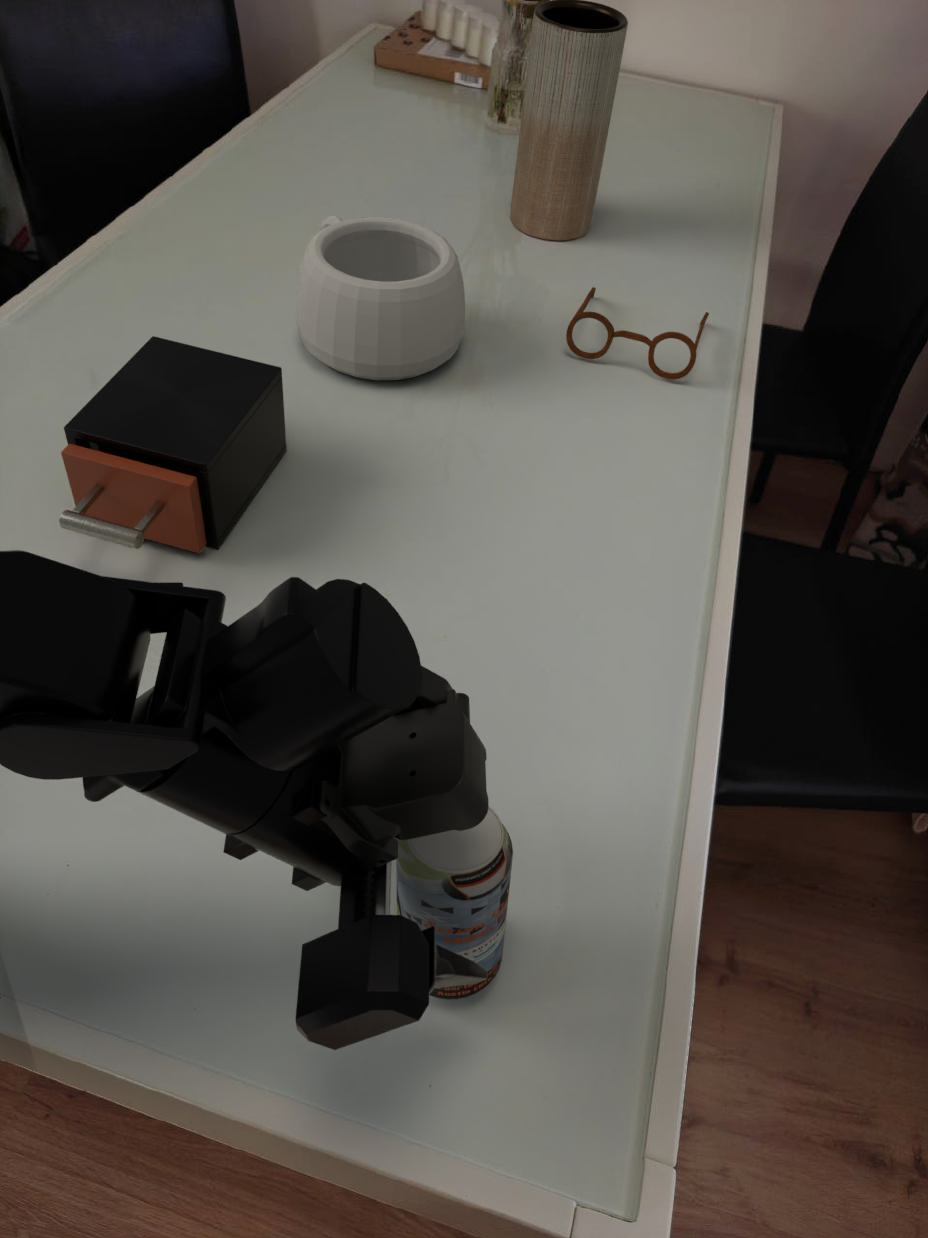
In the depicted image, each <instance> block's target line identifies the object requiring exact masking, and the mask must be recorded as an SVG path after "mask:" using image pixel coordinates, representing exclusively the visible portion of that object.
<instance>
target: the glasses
mask: <svg viewBox="0 0 928 1238" xmlns="http://www.w3.org/2000/svg"><path fill="white" fill-rule="evenodd" d="M595 294H596V287H595V286H592V287H591V288H590V290H589V292H588V293H587V295H586V297H585V299H584V301H583V302H582V303H581V305H580V307H579V308H578V309H577V311H576V313H574V316H573V317H572V318H571V320H570V322H569V323H568V325H567V329H566V334H565V337H566V339H565V340H566V343H567V346H568V349H569V350H570V351H571V352H572V353H573V354H574V355H576V356H578V357H579V358H581V359H585V360H597V359H600V358H602V357H603V356H605V355H606V354H607V352H608V351H609V350H610V347H611V345H612V344H613V340H614V338H623V339H628V340H631V341H636V342H641V343H644V344H645V345H647V346H648V355H647V361H648V366H649V369H650V370H651V372H653V374H655V375H656V376H658V377H660V378H662V379H665V380H672V381H674V380H680V379H683V378H684V377H686V376H687V375H689V374H690V373H691V371H692V370H693V368H694V366H695V363H696V361H697V350H698V347H699V343H700V340H701V337H702V334H703V330H704V328H705V325H706V322H707V320H708V318H709V315H710V312H707V311H706V312H705V313H704V315H703V317H702V318H701V320H700V322H699V325H700V326H699V329H698V331H697V335H696V338H695V341H693V340H692V338H690V336H688V335H686V334H684V333H681V332H677V331H666V332H662V333H660V334H658V335H656V336H654V337H653V338H652V340H651V339H650V338H649V337H648V336H646V335H644V334H641V333H638V332H637V333H636V332H632V331H629V330H624V329H623V330H622V329H621V330H617V331H616V330H615V328H614V326H613V323H611V321H610V320H609V319H608V318H607V317H606V316H605V315H603V314H601V313H599V312H596V311H585V310H586V308H587V307H588V305H589V303H590V301H591V299H594V296H595ZM584 319H593V320H596V321H598V322H600V323H601V324H602V325H603V326H604V328H605V329H606V333H607V339H606V342H605V344H604V346H603V347H602V348H601V349H599V350H598V351H596V352H587V351H584V350H582V349H580V348H578V346H577V345H576V344H575V343H574V339H573V332H574V328H575V326H576V324H577V323H578V322H580V321H581V320H584ZM668 339H674V340H675V339H676V340H679V341H681V342H683V343H684V344H685V345H686V346H687V347H688V350H689V353H690V356H689V360H688V364H687V366H686V367H684V369H682V370H680V371H678V372H667V371H664V370H662V369H661V368H660V367H659V366H658V365H657V364H656V362H655V350H656V347H657V345H658V344H659V343H661V342H662V341H664V340H668Z"/></svg>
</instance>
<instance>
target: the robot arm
mask: <svg viewBox="0 0 928 1238" xmlns="http://www.w3.org/2000/svg"><path fill="white" fill-rule="evenodd" d="M226 601H227V597H226V595H225V593H223V592H222V591H220V590H215V589H208V588H201V587H200V588H199V587H192V586H184V583H183V582H179V581H178V582H177V581H176V582H175V581H174V582H166V581H165V582H159V581H158V582H153V581H145V580H144V581H143V580H136V579H128V578H120V577H113V576H104V575H100V574H96V573H94V572H90V571H87V570H85V569H81V568H78V567H75V566H72V565H69V564H66V563H63V562H60V561H57V560H54V559H51V558H48V557H44V556H42V555H38V554H36V553H33V552H29V551H26V550H19V549H18V550H17V549H16V550H15V549H14V550H13V549H12V550H0V766H1V767H3V768H5V769H6V770H7V769H8V770H9V771H11V772H13V773H15V774H18V775H21V776H24V777H26V778H31V779H38V780H43V781H44V780H45V781H46V780H47V781H49V780H52V781H53V780H58V781H60V780H69V779H70V780H71V779H79V778H80V779H82V786H83V792H84V793H83V795H84V798H85V799H86V800H87V801H88V802H91V803H96V802H101V801H102V800H104V799H105V798H108V797H109V796H110V795H112V794H113V793H115V792H116V791H118V790H120V789H121V788H123V787H127V788H129V789H130V790H133V791H135V792H136V793H139V794H141V795H143V796H145V797H147V798H149V799H151V800H153V801H156V802H158V803H159V804H162V805H164V806H166V807H168V808H169V809H172V810H173V811H175V812H178V813H181V814H182V815H185V816H186V817H188V818H191V819H193V820H195V821H197V822H199V823H201V824H203V825H205V826H208V827H210V828H212V829H214V830H216V831H218V832H220V833H221V834H224V835H225V837H224V838H225V839H224V847H223V851H222V852H223V853H224V854H226V855H228V856H230V857H233V858H235V859H237V860H239V861H242V860H244V859H246V858H248V857H250V856H252V855H254V854H256V853H257V852H262V853H264V854H266V855H268V856H271V857H272V858H275V859H277V860H279V861H281V862H283V863H284V864H287V865H288V866H291V867H292V875H291V885H292V886H295V887H297V888H299V889H301V890H303V891H306V892H308V891H311V890H314V889H315V888H318V887H319V886H322V885H324V884H326V883H327V884H329V885H331V886H334V887H340V893H339V909H338V920H337V921H338V922H337V929H334V930H333V931H330V932H327V933H325V934H323V935H321V936H319V937H316V938H314V939H312V940H309V941H306V942H305V943H302V944H301V953H300V954H301V955H300V964H299V974H298V984H297V985H298V988H297V996H296V1008H295V1018H294V1019H295V1027H296V1031H298V1033H299V1034H301V1035H302V1037H304V1038H305V1039H306V1040H307V1042H309V1043H313V1044H316V1045H319V1046H321V1047H325V1048H328V1049H331V1050H333V1051H337V1050H340V1049H343V1048H345V1047H348V1046H351V1045H355V1044H357V1043H359V1042H362V1041H365V1040H368V1039H371V1038H373V1037H378V1036H379V1035H382V1034H385V1033H388V1032H391V1031H394V1030H397V1029H399V1028H402V1027H405V1026H408V1025H411V1024H413V1023H416V1022H419V1021H420V1020H421V1019H422V1016H423V1015H424V1013H425V1011H426V1010H427V1008H428V1007H429V1004H430V995H429V994H430V993H431V992H432V991H433V989H435V988H444V987H452V986H461V985H470V984H475V983H478V982H481V981H484V980H486V979H487V978H488V975H487V970H485V969H484V968H483V967H481V966H480V965H478V964H477V963H475V962H474V961H472V960H470V959H468V958H465V957H463V956H461V955H459V954H456V953H454V952H452V951H450V950H448V949H445V948H443V947H441V946H439V945H437V944H436V928H435V927H434V926H432V927H430V928H427V929H425V930H422V931H421V929H420V927H419V925H418V923H416V922H414V921H412V920H410V919H408V918H406V917H404V916H402V915H397V914H391V891H392V890H391V889H392V886H391V885H392V862H393V861H396V859H397V858H398V840H408V839H413V838H418V837H423V836H427V835H432V834H437V833H442V832H446V831H451V830H457V831H463V830H467V829H471V828H473V827H475V826H477V825H478V824H480V823H481V822H482V821H483V820H484V818H485V817H486V815H487V812H488V807H490V805H489V804H490V803H489V796H488V795H489V794H488V792H487V791H488V790H487V768H486V767H487V766H486V761H487V758H488V757H487V749H486V747H485V745H484V743H483V742H482V740H481V738H480V736H479V735H478V734H477V732H476V731H475V729H474V728H473V726H472V724H471V708H470V707H471V706H470V697H469V695H468V694H466V693H464V692H456V690H455V689H454V688H453V687H452V685H451V684H450V683H449V681H448V680H447V679H446V678H445V677H443V676H441V675H440V674H438V673H436V672H434V671H432V670H430V669H429V668H427V667H425V666H423V665H422V663H421V658H420V653H419V651H418V648H417V645H416V642H415V639H414V637H413V635H412V633H411V631H410V629H409V627H408V626H407V624H406V623H405V621H404V619H403V618H402V616H401V614H400V613H399V612H398V611H397V610H396V609H395V607H394V606H393V605H392V603H391V602H390V601H389V600H388V598H386V597H385V596H384V595H383V594H382V593H380V592H379V590H377V589H376V588H374V587H373V586H372V585H370V584H368V583H367V582H362V583H358V582H356V581H353V580H351V579H346V578H345V579H344V578H335V579H331V580H328V581H327V582H325V583H323V584H322V585H320V586H319V587H316V588H315V587H314V586H312V585H310V584H309V583H308V582H306V581H305V580H303V579H302V578H300V577H298V576H290V577H289V578H287V579H286V580H284V581H283V582H282V583H280V584H279V585H277V586H276V587H274V588H273V589H272V590H270V592H269V593H268V594H267V595H266V596H265V598H264V599H263V600H262V601H261V602H260V603H259V604H257V605H256V606H255V607H253V608H252V609H251V610H249V611H247V613H245V614H243V615H242V616H241V617H239V618H237V620H234V621H233V622H232V623H230V624H229V625H227V624H225V623H223V618H224V612H225V608H226V607H225V606H226ZM164 633H165V638H164V643H163V647H162V652H161V656H160V661H159V666H158V669H157V673H156V677H155V682H154V685H153V686H152V687H150V688H149V689H147V690H146V691H145V692H144V693H142V694H141V695H139V696H138V693H139V689H140V684H141V681H142V676H143V672H144V668H145V663H146V660H147V656H148V651H149V647H150V642H151V635H154V634H164Z"/></svg>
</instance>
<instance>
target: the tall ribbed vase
mask: <svg viewBox="0 0 928 1238" xmlns="http://www.w3.org/2000/svg"><path fill="white" fill-rule="evenodd" d="M628 25H629V21H628V18H627V17H626V15H625V14H624V13H623V12H621V11H620V10H618V9H616V8H614V7H611V6H609V5H606V4H603V3H599V2H595V1H589V0H547V1H544V2H541V3H539V4H538V5H537V6H536V7H535V9H534V11H533V18H532V26H531V34H530V42H529V43H530V44H529V51H528V52H529V53H528V59H527V68H526V76H525V85H524V92H523V101H522V110H521V118H520V125H519V137H518V143H517V151H516V160H515V167H514V178H513V183H512V185H513V186H512V191H511V192H512V193H511V202H510V215H509V218H510V221H511V223H512V225H514V226H515V228H516V229H518V230H519V231H521V232H522V233H524V234H526V235H528V236H531V237H533V238H537V239H541V240H547V241H558V242H559V241H560V242H561V241H570V240H575V239H579V238H580V237H583V236H585V235H587V233H588V232H589V230H590V229H591V227H592V221H593V217H594V213H595V212H594V211H595V206H596V201H597V197H598V196H597V195H598V190H599V184H600V179H601V174H602V168H603V163H604V158H605V152H606V147H607V141H608V136H609V129H610V126H611V125H610V124H611V120H612V114H613V108H614V103H615V97H616V91H617V86H618V81H619V76H620V70H621V65H622V59H623V53H624V49H625V43H626V37H627V31H628Z"/></svg>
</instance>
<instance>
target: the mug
mask: <svg viewBox="0 0 928 1238" xmlns="http://www.w3.org/2000/svg"><path fill="white" fill-rule="evenodd" d="M296 287H297V288H296V295H295V297H296V299H295V316H296V326H297V330H298V334H299V337H300V340H301V341H302V343H303V345H304V347H305V348H306V350H307V351H308V352H309V353H310V354H311V355H313V356H314V357H315V358H316V359H317V360H318V361H320V362H321V363H323V364H324V365H325V366H328V367H329V368H332V369H334V370H336V371H337V372H339V373H341V374H345V375H349V376H351V377H355V378H358V379H365V380H373V381H398V380H405V379H411V378H415V377H418V376H421V375H425V374H426V373H429V372H432V371H433V370H435V369H437V368H438V367H440V366H441V365H443V364H444V363H446V362H447V361H449V360H450V359H451V358H452V357H453V355H454V354H455V353H456V352H457V350H458V349H459V347H460V343H461V340H462V338H463V334H464V329H465V325H466V296H465V285H464V278H463V273H462V269H461V265H460V261H459V257H458V254H457V253H456V251H455V249H454V247H453V245H451V243H450V242H449V241H448V239H447V238H446V237H445V236H443V235H441V234H440V233H438V232H437V231H436V230H434V229H431V228H429V227H427V226H424V225H423V224H420V223H416V222H412V221H408V220H404V219H399V218H392V217H379V216H378V217H376V216H372V217H371V216H370V217H367V216H366V217H359V218H350V219H345V220H344V219H343V218H342V217H340V216H338V215H333V214H332V215H330V216H327V217H326V218H325V219H324V220H323V221H322V223H321V226H320V230H319V231H318V232H317V233H316V234H315V235H314V236H313V237H312V238H311V239H310V241H309V243H308V245H307V247H306V249H305V251H304V253H303V256H302V260H301V263H300V266H299V272H298V279H297V286H296Z"/></svg>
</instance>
